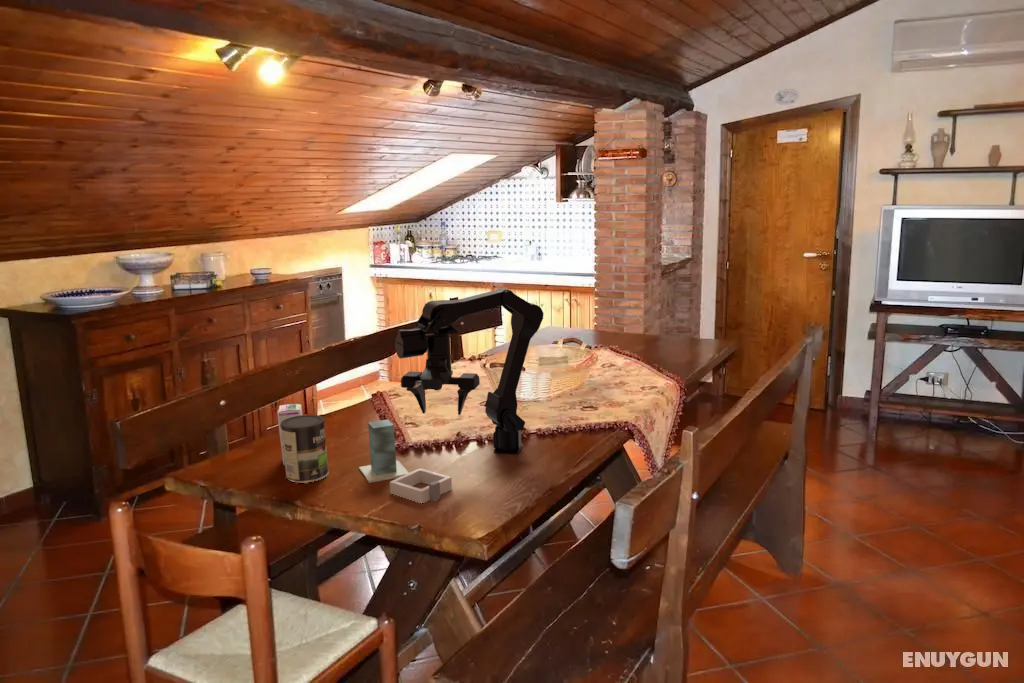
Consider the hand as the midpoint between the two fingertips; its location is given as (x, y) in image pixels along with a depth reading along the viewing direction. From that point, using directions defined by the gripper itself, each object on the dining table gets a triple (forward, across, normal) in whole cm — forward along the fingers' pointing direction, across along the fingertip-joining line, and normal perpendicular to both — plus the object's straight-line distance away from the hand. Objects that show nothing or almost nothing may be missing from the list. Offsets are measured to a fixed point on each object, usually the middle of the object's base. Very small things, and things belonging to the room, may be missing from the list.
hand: (441, 413), depth 196 cm
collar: (+13, 0, -18) cm, 22 cm away
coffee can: (+13, -31, -13) cm, 36 cm away
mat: (+13, -13, -8) cm, 20 cm away
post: (+12, -13, -8) cm, 20 cm away
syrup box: (+13, -39, -4) cm, 41 cm away
